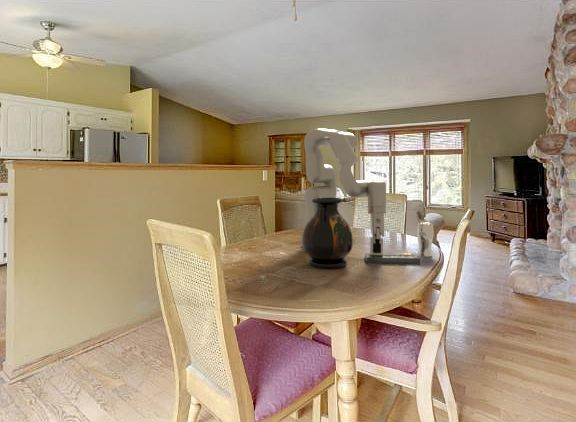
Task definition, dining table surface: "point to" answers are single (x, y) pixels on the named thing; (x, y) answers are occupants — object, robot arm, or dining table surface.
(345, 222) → the dark decorated vase
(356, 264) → the dining table surface
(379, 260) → the fader console
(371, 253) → the fader knob
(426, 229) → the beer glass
